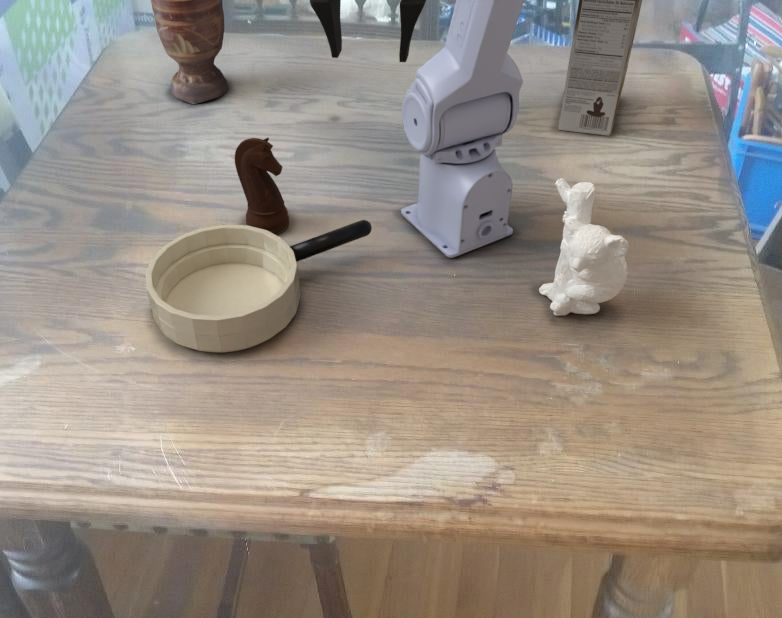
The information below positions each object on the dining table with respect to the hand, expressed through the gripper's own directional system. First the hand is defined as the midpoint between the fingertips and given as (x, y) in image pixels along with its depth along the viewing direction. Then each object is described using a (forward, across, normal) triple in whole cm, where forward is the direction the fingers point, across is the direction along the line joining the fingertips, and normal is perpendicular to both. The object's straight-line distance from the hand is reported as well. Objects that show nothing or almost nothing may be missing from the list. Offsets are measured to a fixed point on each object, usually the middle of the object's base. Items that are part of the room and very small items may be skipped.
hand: (370, 56), depth 97 cm
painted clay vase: (+10, +25, -8) cm, 28 cm away
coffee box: (+10, -25, -8) cm, 28 cm away
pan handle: (+7, -1, +26) cm, 27 cm away
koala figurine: (+10, -25, +28) cm, 38 cm away
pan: (+9, +7, +34) cm, 36 cm away
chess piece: (+10, +7, +20) cm, 23 cm away
